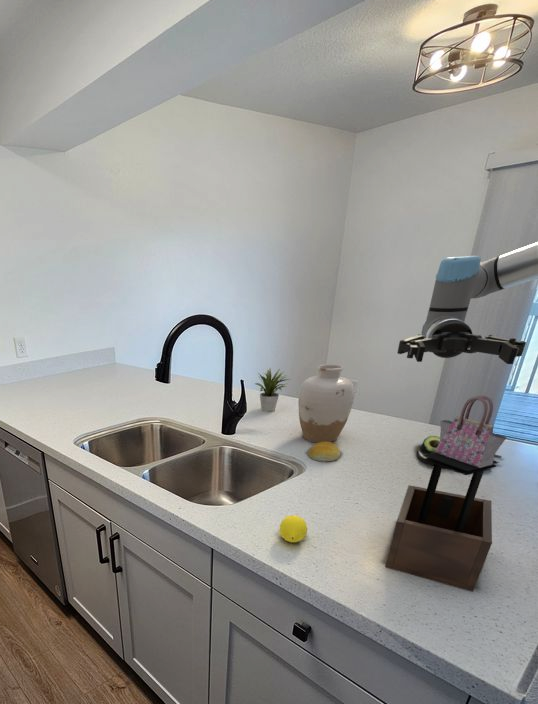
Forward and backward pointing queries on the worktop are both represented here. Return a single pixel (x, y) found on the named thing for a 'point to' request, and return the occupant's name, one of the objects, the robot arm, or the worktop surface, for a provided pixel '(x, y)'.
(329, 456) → the bread roll
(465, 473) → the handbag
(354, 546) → the worktop surface
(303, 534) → the lemon
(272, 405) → the house plant
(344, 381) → the vase
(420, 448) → the salad plate
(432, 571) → the open brown wooden box
